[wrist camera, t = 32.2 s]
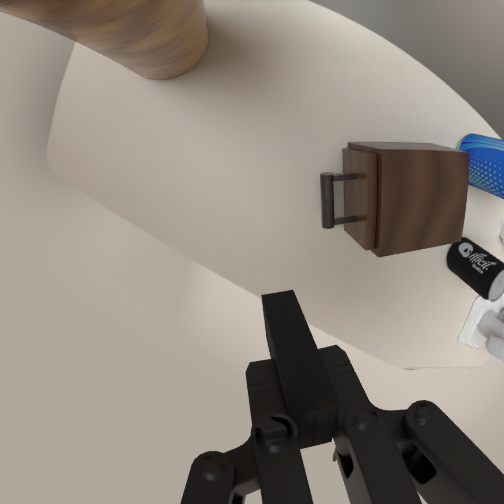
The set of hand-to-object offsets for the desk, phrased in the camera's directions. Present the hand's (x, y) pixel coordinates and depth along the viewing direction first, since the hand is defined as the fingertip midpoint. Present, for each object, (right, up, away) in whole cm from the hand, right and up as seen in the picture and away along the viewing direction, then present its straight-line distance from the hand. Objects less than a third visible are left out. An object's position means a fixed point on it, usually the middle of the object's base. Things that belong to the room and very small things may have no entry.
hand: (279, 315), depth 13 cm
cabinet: (+18, +12, +21) cm, 30 cm away
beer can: (+33, +18, +20) cm, 43 cm away
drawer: (+14, +11, +20) cm, 27 cm away
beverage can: (+35, +3, +27) cm, 45 cm away
